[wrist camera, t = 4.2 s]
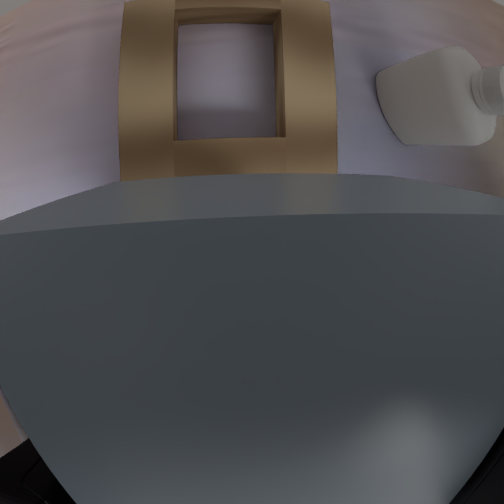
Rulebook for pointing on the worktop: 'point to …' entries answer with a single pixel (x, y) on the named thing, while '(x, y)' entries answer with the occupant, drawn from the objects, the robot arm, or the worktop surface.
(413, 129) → the eye dropper bottle
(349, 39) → the worktop surface
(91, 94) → the worktop surface
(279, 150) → the socket board
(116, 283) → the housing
